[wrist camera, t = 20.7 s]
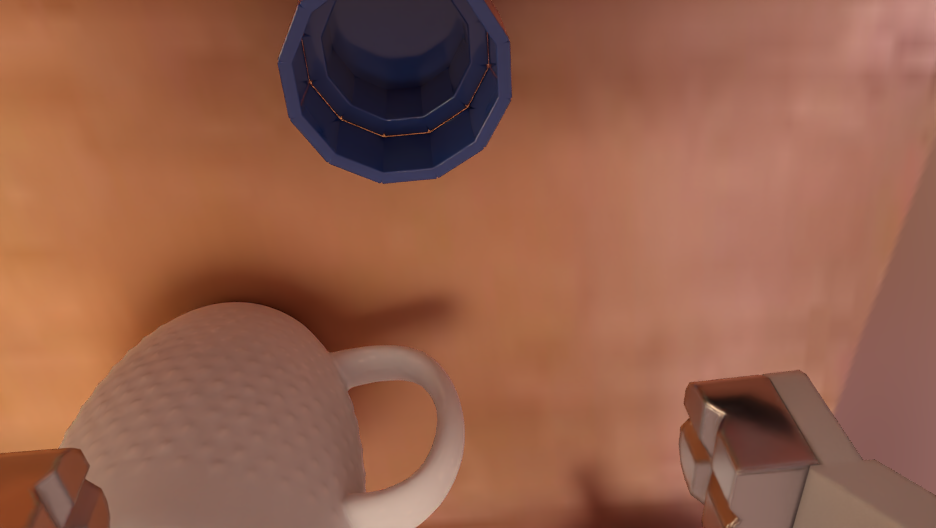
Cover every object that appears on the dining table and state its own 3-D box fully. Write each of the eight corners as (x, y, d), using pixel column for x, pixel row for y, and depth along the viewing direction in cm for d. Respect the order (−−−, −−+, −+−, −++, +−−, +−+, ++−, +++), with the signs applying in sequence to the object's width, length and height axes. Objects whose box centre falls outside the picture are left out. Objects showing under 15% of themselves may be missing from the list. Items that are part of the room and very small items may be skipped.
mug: (409, 196, 30) (421, 453, 19) (483, 392, 36) (524, 669, 26) (58, 299, 31) (-114, 594, 21) (187, 471, 38) (107, 767, 27)
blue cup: (282, -72, 24) (258, -28, 20) (485, -90, 25) (507, -49, 20) (317, 117, 28) (303, 192, 23) (494, 101, 28) (514, 172, 24)
